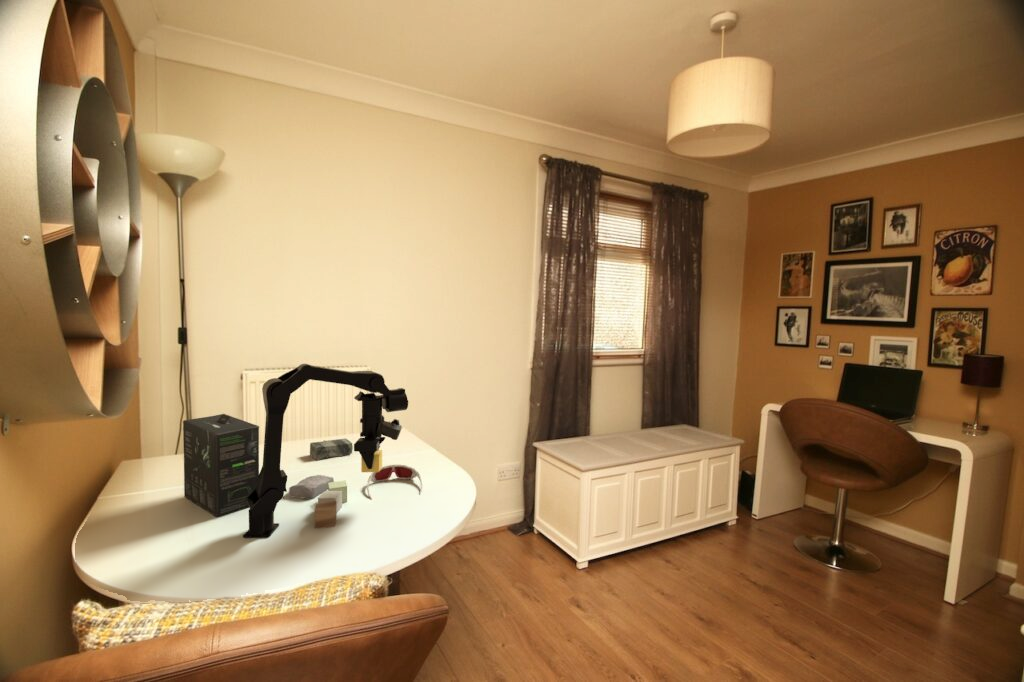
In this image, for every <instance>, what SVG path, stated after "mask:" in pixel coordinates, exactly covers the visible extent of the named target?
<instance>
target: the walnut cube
mask: <svg viewBox="0 0 1024 682" xmlns="http://www.w3.org/2000/svg"><path fill="white" fill-rule="evenodd" d="M337 514H338V513H337V503H336V501H331V502H320V503H318V502H316V506H315V509H314V529H324V528H332V527H334V528H335V527H336V524H337V523H336V522H337Z"/></svg>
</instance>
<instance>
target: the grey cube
mask: <svg viewBox="0 0 1024 682" xmlns="http://www.w3.org/2000/svg"><path fill="white" fill-rule="evenodd" d="M331 501H336V503H337V514H339V512H340V511H341V509H342V508H343V503H342V491H328V490H326V491H324V492H323V493H322V494H320V495H318V496H317V503H320V502H331Z"/></svg>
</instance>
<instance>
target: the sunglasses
mask: <svg viewBox="0 0 1024 682" xmlns="http://www.w3.org/2000/svg"><path fill="white" fill-rule="evenodd" d="M393 473H394V474H395V476H396V477H397V479H399V480H400V479H401V480H402V479H404V480H406V479H407V480H413V479H415V478H418V479H419V482H420V491H419V495H421V494H422V491H423V480H422V477H421V474H420V472H419V471H418V470H417V469H415V468H414V467H412V466H409V465H406V464H390V465H384V466H382V467H381V469H380V471H379V472H371V474H370V475H369V477H368V479H367V484H366V490H367V495H368V499H370V500H371V501H372V500H373V498H372V495H371V493H370V489H369V487H370V483H371V482H373V483H379V482H383V481H387V480H388V481H389V480H390V478H392V477H391V476H392V475H393Z"/></svg>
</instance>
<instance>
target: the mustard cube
mask: <svg viewBox="0 0 1024 682" xmlns="http://www.w3.org/2000/svg"><path fill="white" fill-rule="evenodd" d="M360 456H361V455H360ZM360 458H361V461H360V462H361V473H373V472H379V471H380V469H381V467H383V450H382V449H379V450H377V451H376V452H375V455H374V461H373V466H372V469H368V468H367V466H366V464H365V462H364V460H363V458H362V456H361V457H360Z"/></svg>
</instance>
